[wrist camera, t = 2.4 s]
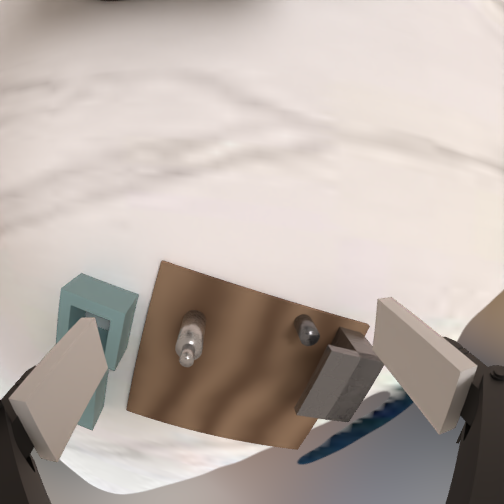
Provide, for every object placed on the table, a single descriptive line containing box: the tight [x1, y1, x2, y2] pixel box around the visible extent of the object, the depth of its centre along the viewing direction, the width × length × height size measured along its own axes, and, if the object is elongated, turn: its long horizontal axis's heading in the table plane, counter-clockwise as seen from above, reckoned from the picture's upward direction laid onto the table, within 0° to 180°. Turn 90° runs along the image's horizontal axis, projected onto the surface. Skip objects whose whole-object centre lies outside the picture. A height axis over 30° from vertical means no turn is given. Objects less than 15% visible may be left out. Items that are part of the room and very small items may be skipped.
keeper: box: [294, 314, 384, 422], centre depth 32 cm, size 8×8×7 cm
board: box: [127, 260, 370, 449], centre depth 35 cm, size 24×21×1 cm
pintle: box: [175, 310, 206, 367], centre depth 29 cm, size 2×2×9 cm
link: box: [56, 273, 139, 431], centre depth 31 cm, size 18×7×5 cm, turn 160°
